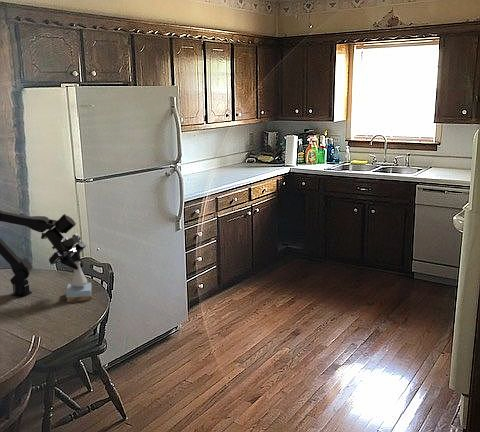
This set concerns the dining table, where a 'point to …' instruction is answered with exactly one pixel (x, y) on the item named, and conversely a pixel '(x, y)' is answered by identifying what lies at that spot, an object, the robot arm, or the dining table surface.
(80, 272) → the flask
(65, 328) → the dining table surface
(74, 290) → the pale blue square slab
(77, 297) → the walnut block
